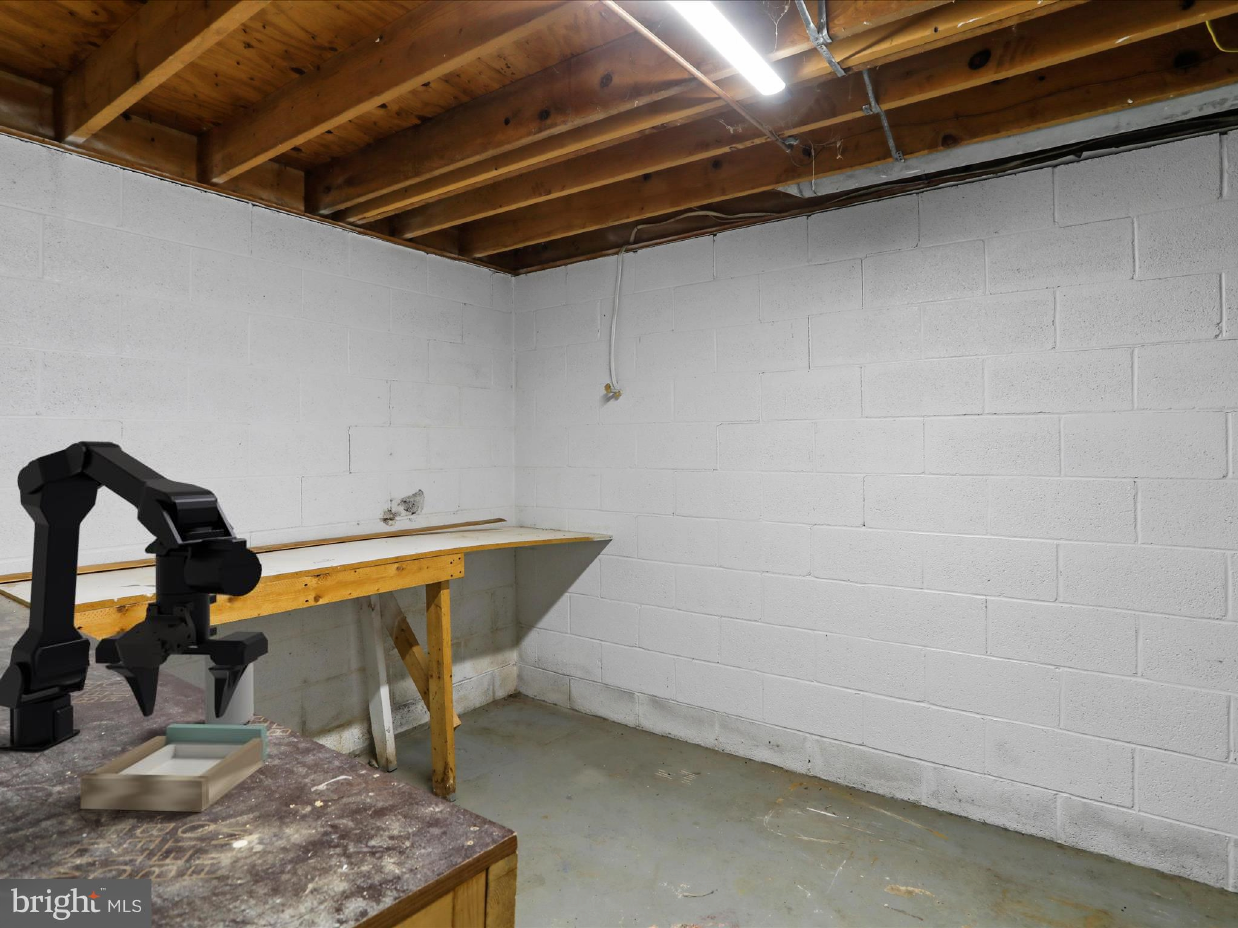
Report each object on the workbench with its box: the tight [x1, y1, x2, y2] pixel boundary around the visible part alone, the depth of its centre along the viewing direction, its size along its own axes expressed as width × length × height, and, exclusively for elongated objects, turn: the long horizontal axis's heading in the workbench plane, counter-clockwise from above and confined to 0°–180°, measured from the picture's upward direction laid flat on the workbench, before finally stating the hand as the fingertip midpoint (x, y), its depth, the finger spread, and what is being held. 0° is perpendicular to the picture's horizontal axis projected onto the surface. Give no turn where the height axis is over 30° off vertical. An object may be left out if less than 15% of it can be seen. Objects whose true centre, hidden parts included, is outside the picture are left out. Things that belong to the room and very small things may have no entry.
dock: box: [80, 735, 264, 813], centre depth 85 cm, size 14×12×4 cm
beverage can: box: [204, 655, 255, 725], centre depth 105 cm, size 6×6×12 cm
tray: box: [118, 723, 267, 776], centre depth 87 cm, size 13×12×4 cm
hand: (183, 716), depth 86 cm, fingers open, 9 cm apart
